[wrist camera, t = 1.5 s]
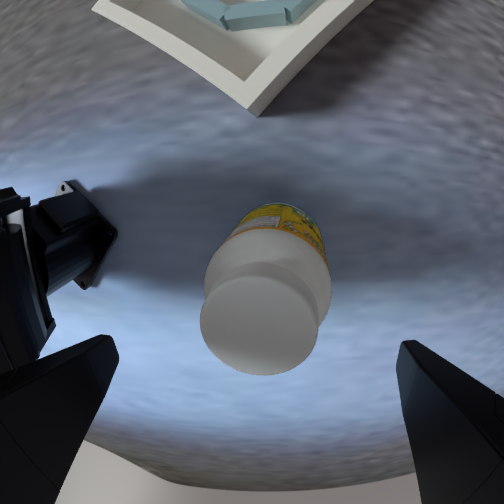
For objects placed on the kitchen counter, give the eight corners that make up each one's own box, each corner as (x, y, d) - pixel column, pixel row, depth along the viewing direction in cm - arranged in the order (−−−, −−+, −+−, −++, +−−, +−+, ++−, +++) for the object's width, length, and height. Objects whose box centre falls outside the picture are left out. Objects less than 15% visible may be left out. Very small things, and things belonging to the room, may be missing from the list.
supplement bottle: (224, 215, 19) (154, 275, 10) (309, 190, 17) (317, 231, 8) (251, 293, 20) (212, 395, 11) (331, 273, 19) (350, 375, 10)
